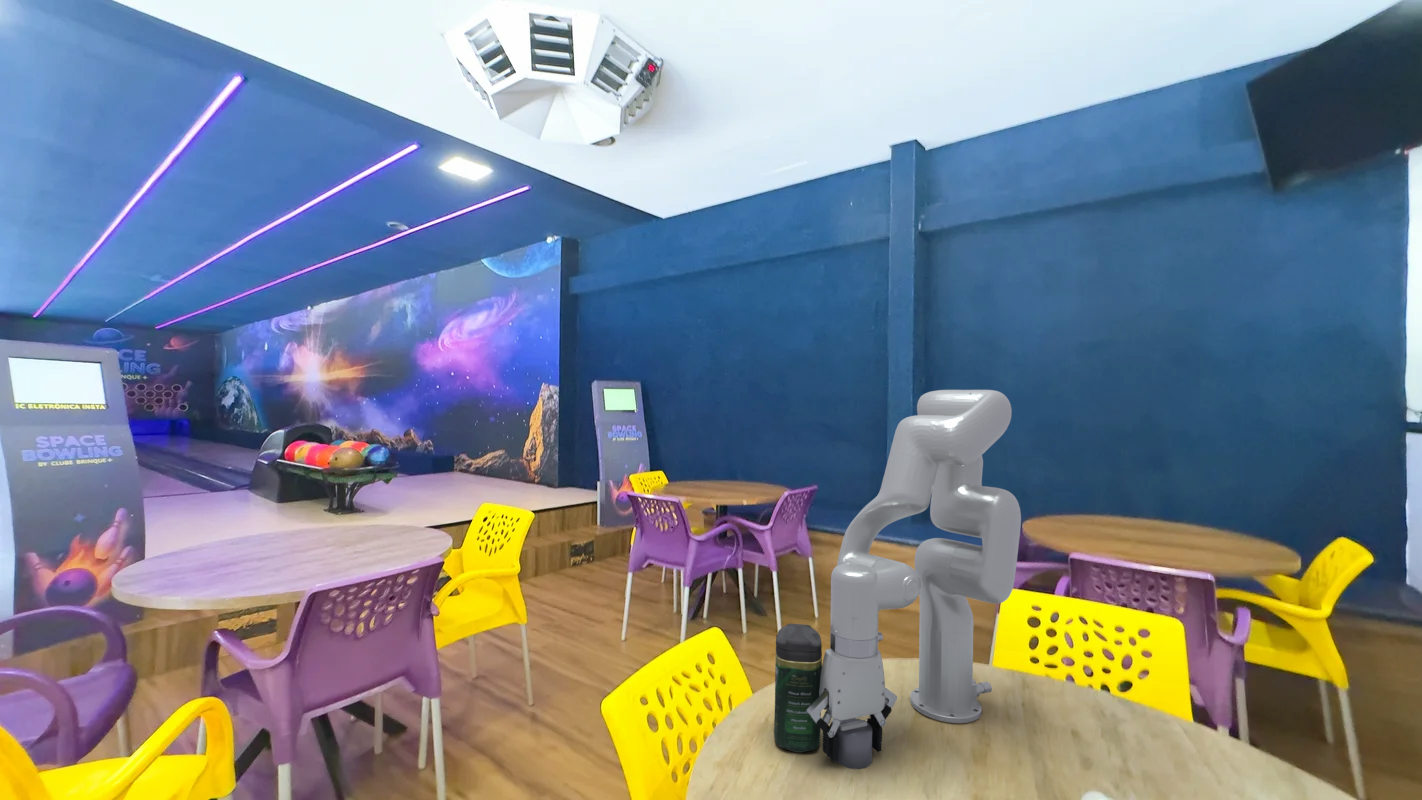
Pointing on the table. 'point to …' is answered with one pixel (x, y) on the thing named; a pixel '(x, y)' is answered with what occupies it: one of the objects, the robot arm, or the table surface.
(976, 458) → the robot arm
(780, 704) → the coffee jar
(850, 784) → the table surface
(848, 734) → the lid
